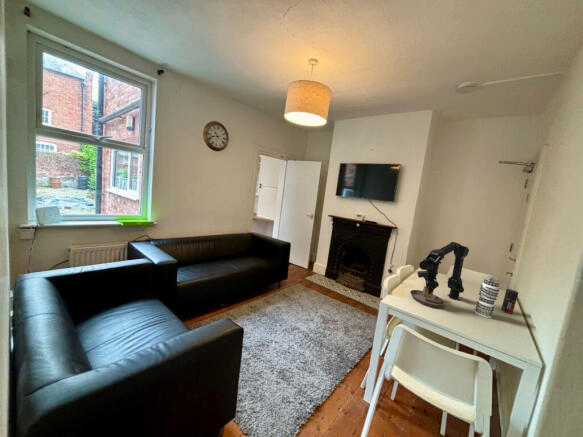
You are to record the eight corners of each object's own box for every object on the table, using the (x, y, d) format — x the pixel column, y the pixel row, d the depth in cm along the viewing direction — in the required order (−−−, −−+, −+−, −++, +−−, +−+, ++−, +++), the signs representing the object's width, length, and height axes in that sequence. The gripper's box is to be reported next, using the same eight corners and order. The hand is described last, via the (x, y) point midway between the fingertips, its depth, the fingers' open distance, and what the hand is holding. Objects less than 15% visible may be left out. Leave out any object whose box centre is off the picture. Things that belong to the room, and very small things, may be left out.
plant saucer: (433, 296, 167) (434, 292, 166) (450, 311, 146) (451, 306, 146) (404, 291, 168) (405, 287, 168) (417, 306, 148) (418, 301, 148)
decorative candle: (496, 318, 144) (506, 281, 140) (484, 318, 142) (494, 280, 139) (482, 310, 153) (491, 275, 149) (470, 310, 151) (479, 274, 148)
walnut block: (422, 294, 160) (424, 286, 159) (430, 296, 158) (432, 288, 158) (423, 297, 156) (425, 288, 155) (431, 299, 154) (433, 290, 153)
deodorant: (509, 310, 158) (515, 290, 156) (514, 314, 153) (520, 293, 151) (499, 308, 160) (504, 288, 158) (503, 312, 155) (509, 291, 152)
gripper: (417, 262, 166) (413, 283, 168) (421, 270, 148) (416, 292, 151) (435, 266, 162) (430, 287, 164) (441, 274, 144) (436, 297, 147)
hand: (428, 291), depth 156 cm, fingers open, 9 cm apart
